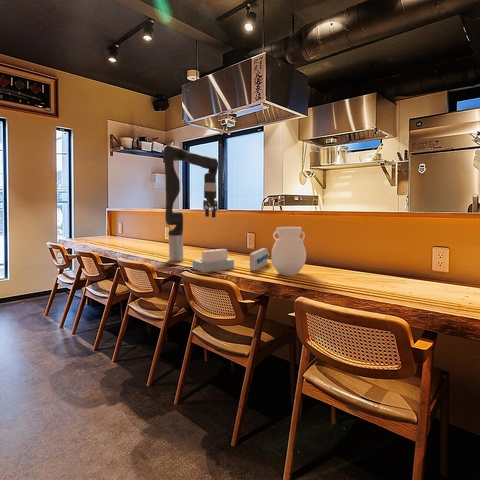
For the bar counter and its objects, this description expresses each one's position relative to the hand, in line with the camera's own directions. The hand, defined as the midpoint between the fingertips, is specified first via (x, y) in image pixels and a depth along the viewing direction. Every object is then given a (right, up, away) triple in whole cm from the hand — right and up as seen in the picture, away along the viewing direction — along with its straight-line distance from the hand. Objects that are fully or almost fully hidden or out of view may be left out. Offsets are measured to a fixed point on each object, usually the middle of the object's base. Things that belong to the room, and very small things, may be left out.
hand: (210, 217), depth 212 cm
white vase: (+44, -32, -27) cm, 61 cm away
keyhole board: (+3, -31, -10) cm, 33 cm away
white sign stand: (+4, -30, -12) cm, 33 cm away
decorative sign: (+31, -30, -5) cm, 44 cm away
